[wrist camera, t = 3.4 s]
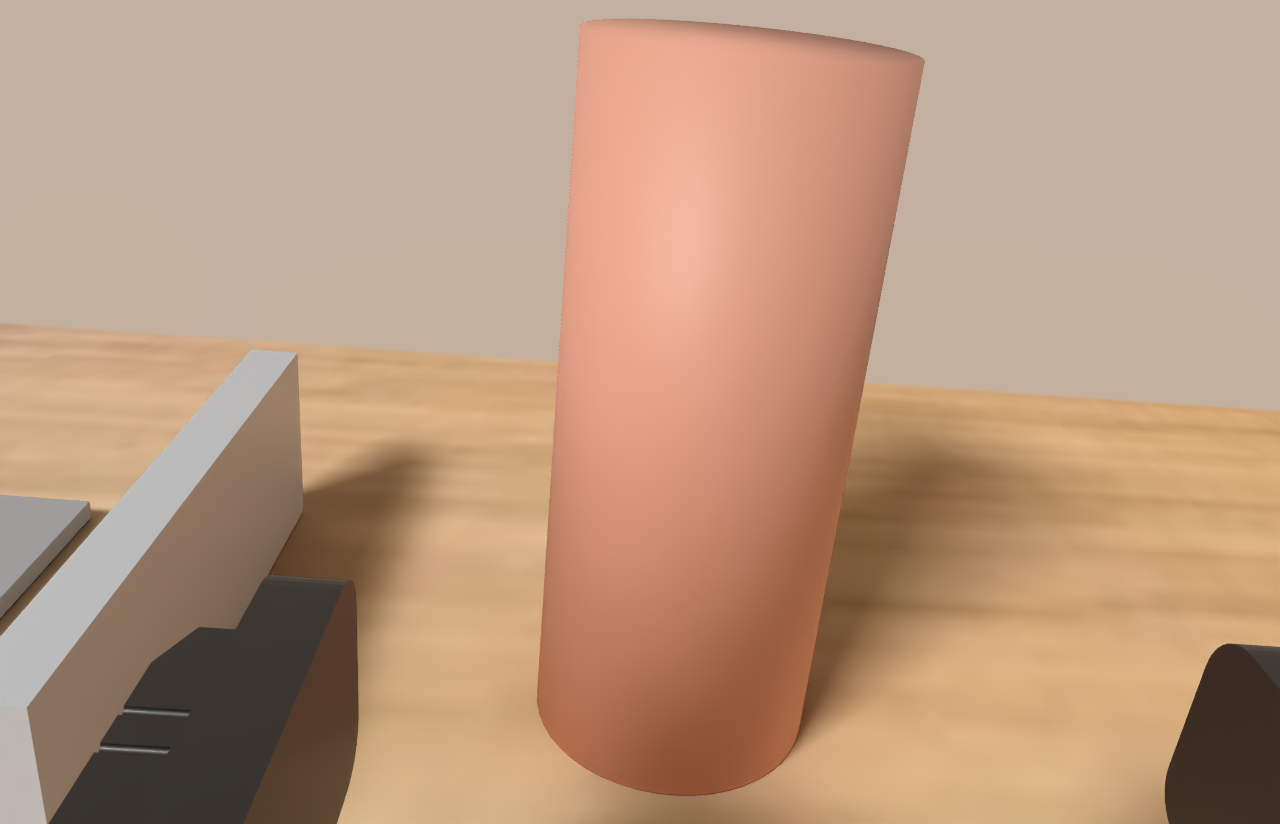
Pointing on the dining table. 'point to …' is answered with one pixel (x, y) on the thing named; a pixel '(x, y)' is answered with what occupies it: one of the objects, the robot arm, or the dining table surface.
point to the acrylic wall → (150, 580)
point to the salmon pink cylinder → (709, 384)
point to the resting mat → (33, 539)
